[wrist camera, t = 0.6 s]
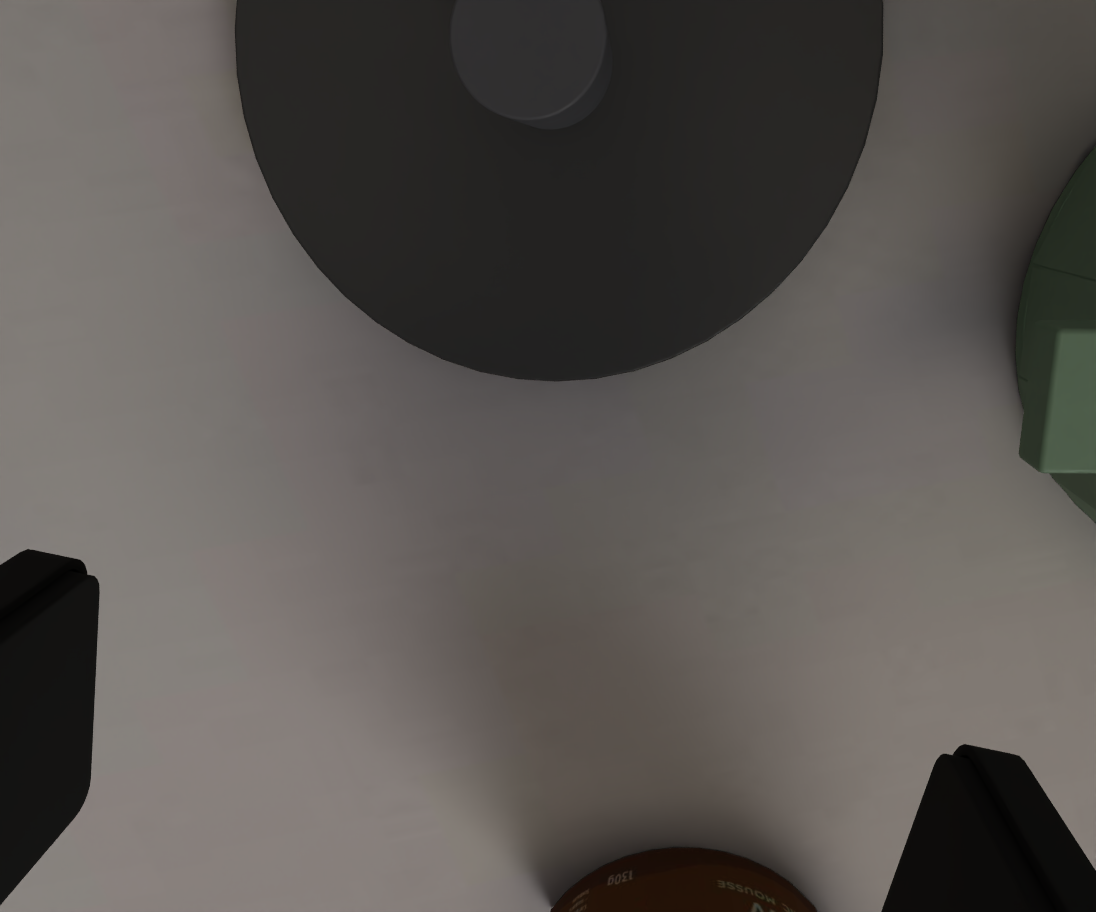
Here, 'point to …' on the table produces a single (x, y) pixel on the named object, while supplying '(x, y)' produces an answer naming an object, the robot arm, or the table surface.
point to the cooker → (1062, 344)
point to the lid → (557, 162)
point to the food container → (683, 885)
